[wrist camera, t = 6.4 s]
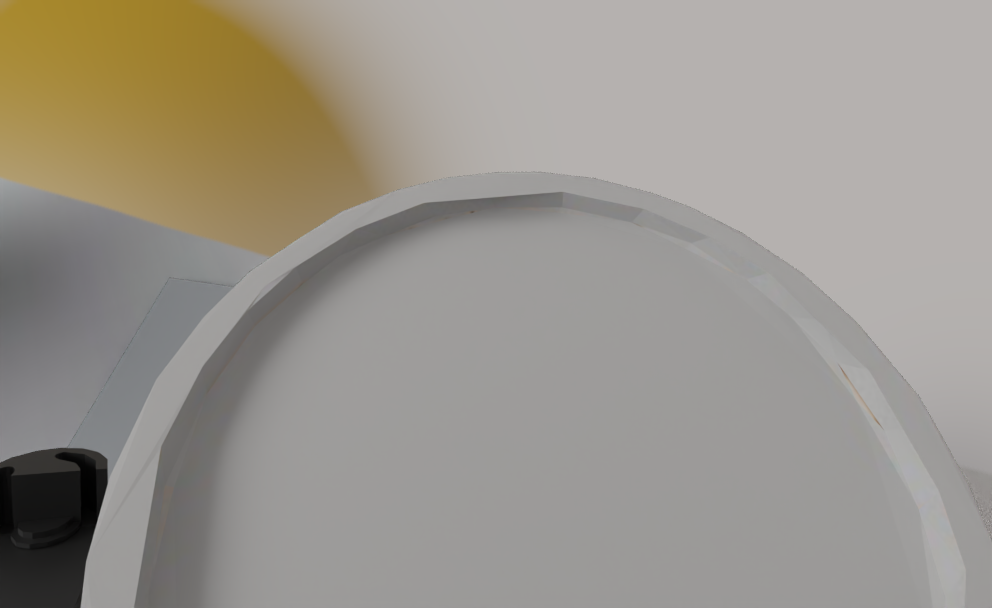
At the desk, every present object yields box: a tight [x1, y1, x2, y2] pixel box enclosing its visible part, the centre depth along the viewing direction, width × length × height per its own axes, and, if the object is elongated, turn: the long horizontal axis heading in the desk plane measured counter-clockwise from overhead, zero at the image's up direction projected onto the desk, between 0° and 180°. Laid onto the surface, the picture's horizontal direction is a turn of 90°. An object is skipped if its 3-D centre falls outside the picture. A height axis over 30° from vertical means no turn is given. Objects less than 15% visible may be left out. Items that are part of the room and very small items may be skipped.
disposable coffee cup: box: [81, 172, 992, 608], centre depth 10 cm, size 10×10×12 cm
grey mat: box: [67, 278, 234, 482], centre depth 24 cm, size 12×12×1 cm
